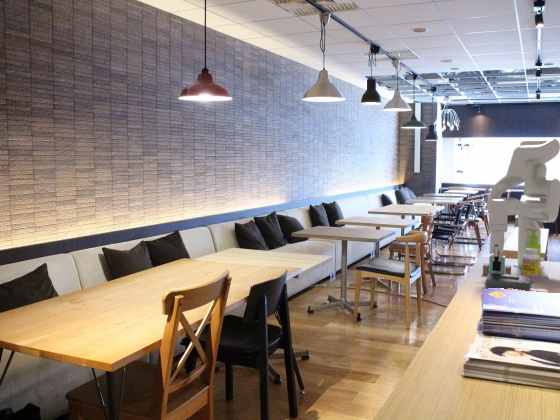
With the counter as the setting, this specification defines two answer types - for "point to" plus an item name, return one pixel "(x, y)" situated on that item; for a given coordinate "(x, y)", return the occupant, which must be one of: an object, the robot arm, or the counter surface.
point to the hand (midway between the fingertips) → (497, 269)
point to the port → (508, 281)
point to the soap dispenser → (534, 242)
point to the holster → (486, 270)
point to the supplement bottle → (531, 263)
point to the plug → (502, 260)
